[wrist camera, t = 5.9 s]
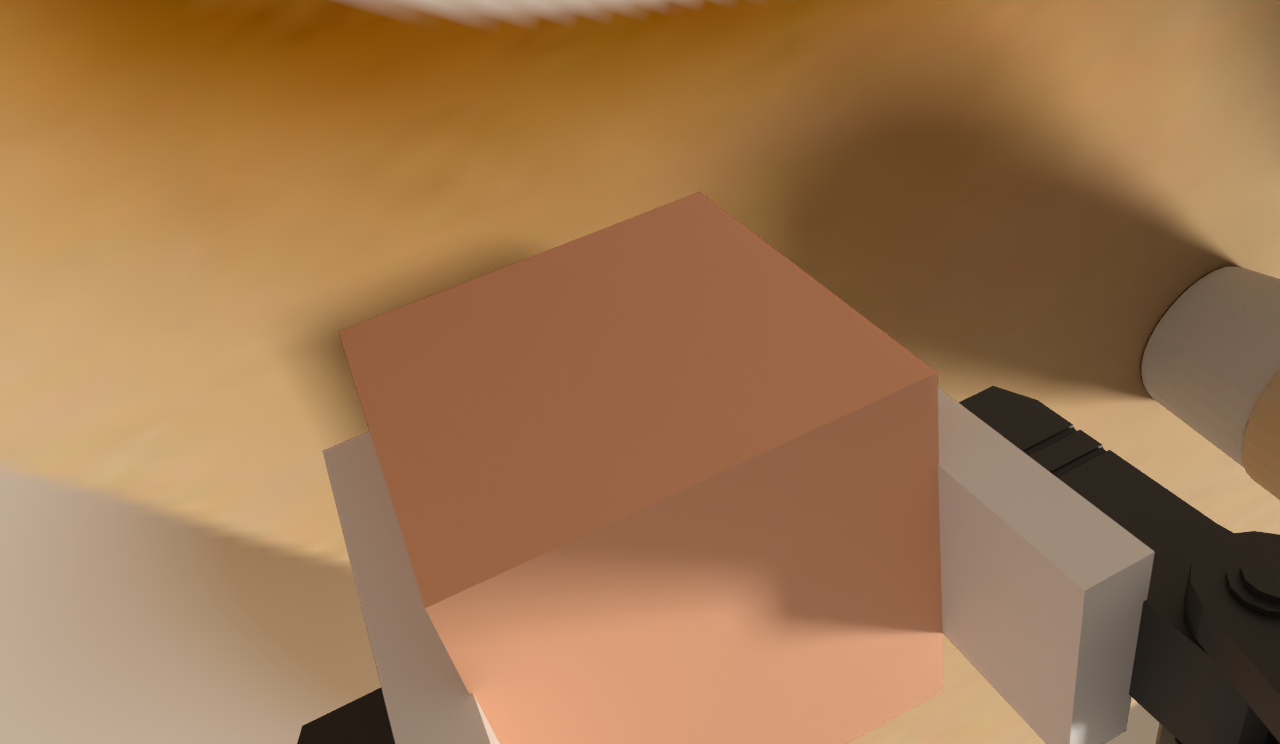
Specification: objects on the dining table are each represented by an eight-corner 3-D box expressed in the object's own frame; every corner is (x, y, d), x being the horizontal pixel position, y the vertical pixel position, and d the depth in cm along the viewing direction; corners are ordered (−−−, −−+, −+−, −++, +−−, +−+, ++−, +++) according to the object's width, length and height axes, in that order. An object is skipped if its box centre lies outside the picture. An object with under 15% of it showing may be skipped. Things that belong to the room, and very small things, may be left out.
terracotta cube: (699, 191, 13) (937, 372, 9) (748, 464, 16) (943, 691, 12) (338, 331, 12) (426, 608, 8) (463, 596, 15) (573, 893, 11)
